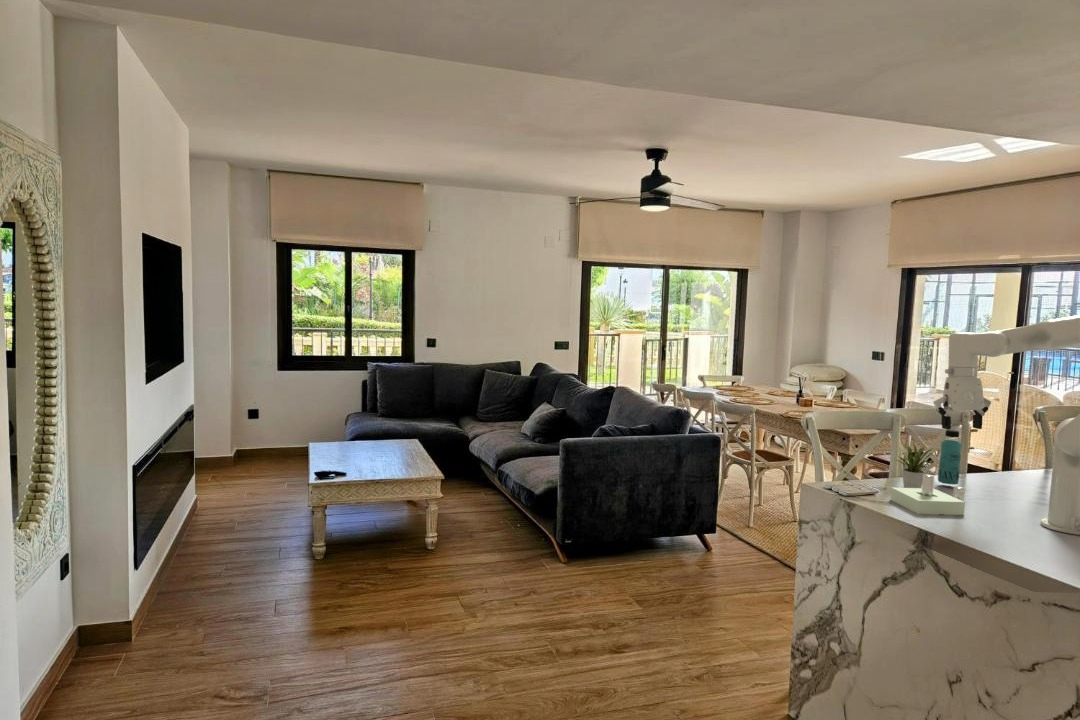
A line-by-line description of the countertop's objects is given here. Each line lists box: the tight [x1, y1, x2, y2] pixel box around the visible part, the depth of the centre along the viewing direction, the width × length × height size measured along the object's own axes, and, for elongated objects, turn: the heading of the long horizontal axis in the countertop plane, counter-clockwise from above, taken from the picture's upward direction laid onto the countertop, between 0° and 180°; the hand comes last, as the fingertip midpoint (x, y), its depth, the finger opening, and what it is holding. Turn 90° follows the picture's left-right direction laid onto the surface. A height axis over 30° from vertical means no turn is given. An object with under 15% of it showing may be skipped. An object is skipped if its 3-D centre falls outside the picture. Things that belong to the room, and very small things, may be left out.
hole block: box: [890, 487, 966, 516], centre depth 205 cm, size 15×14×4 cm
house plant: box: [893, 441, 940, 488], centre depth 227 cm, size 14×14×16 cm
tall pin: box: [921, 473, 935, 497], centre depth 205 cm, size 3×3×10 cm
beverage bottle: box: [937, 429, 963, 486], centre depth 232 cm, size 6×7×20 cm
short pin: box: [952, 485, 966, 502], centre depth 211 cm, size 3×3×5 cm
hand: (961, 428), depth 202 cm, fingers open, 9 cm apart
